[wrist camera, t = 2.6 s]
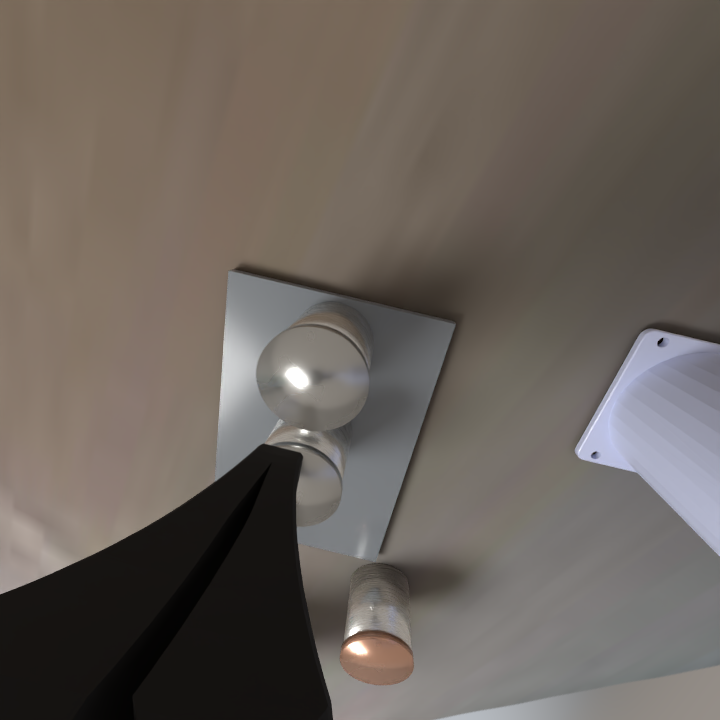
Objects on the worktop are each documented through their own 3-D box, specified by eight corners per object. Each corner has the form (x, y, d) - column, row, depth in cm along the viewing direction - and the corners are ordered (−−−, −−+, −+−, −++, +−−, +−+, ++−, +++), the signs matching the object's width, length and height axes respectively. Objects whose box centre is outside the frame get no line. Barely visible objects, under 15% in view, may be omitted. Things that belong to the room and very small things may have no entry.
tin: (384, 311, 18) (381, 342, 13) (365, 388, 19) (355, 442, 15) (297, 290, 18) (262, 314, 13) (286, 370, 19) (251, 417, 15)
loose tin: (417, 570, 25) (422, 651, 20) (401, 609, 27) (402, 691, 22) (356, 556, 25) (347, 633, 20) (344, 595, 27) (334, 675, 22)
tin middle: (361, 405, 20) (350, 462, 15) (345, 467, 21) (331, 536, 17) (283, 386, 20) (249, 437, 15) (274, 450, 21) (240, 514, 17)
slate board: (454, 321, 18) (455, 324, 17) (375, 554, 25) (375, 561, 24) (233, 269, 18) (228, 270, 17) (216, 515, 25) (212, 522, 24)
